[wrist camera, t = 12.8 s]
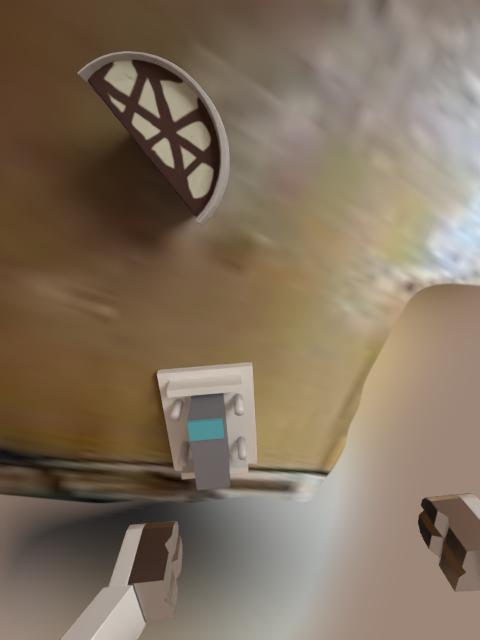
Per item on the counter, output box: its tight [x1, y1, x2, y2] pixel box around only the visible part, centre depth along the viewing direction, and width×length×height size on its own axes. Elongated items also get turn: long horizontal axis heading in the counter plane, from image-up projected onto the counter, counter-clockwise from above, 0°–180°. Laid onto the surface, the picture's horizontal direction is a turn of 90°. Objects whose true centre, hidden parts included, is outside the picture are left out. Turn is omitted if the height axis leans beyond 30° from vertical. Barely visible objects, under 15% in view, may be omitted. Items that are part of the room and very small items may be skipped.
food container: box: [78, 51, 230, 226], centre depth 24 cm, size 12×6×10 cm, turn 38°
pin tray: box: [157, 362, 258, 479], centre depth 37 cm, size 12×16×4 cm
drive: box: [187, 393, 230, 490], centre depth 35 cm, size 4×10×6 cm, turn 4°
